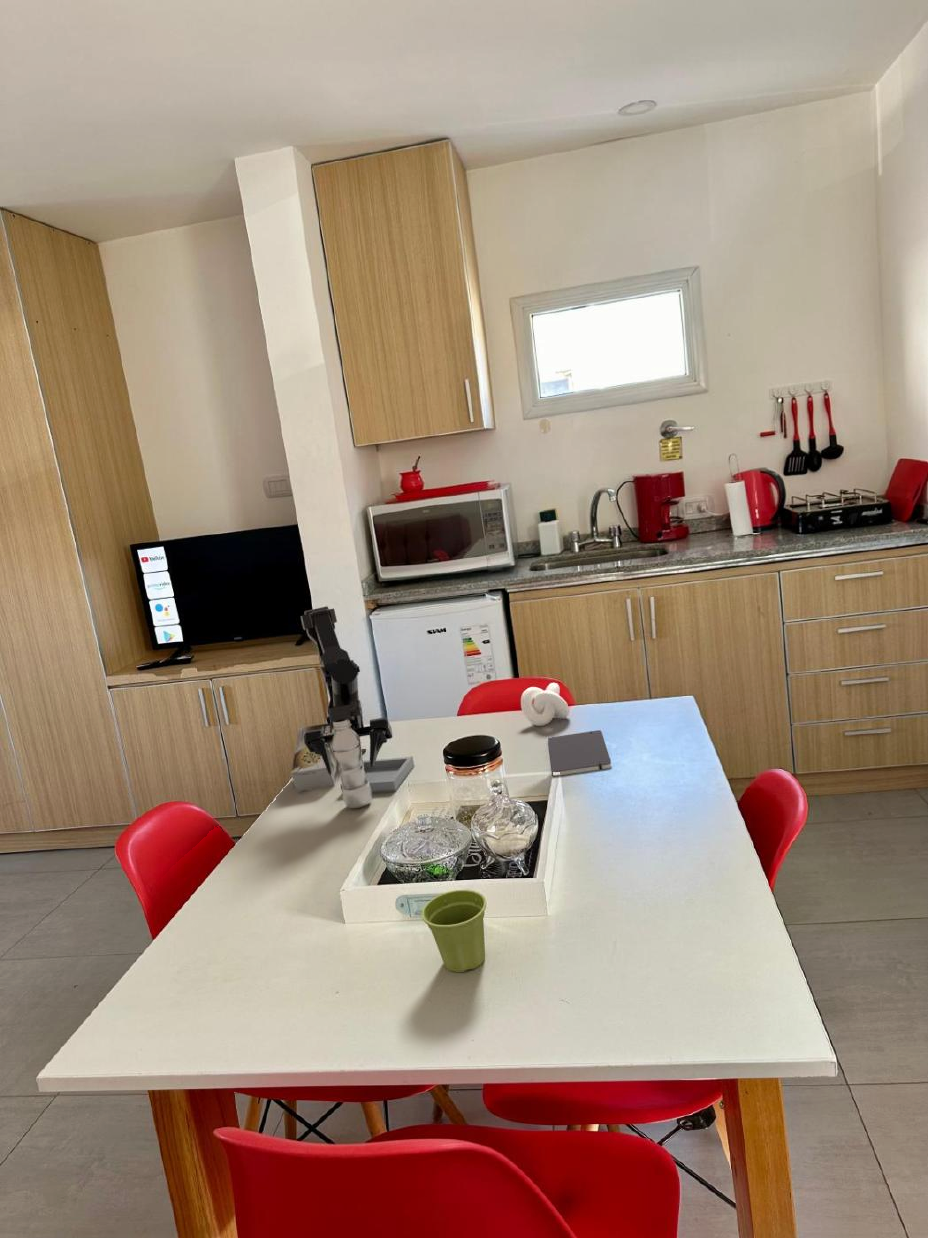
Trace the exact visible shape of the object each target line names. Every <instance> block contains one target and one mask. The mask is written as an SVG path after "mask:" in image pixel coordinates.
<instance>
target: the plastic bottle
mask: <svg viewBox="0 0 928 1238" xmlns="http://www.w3.org/2000/svg"><path fill="white" fill-rule="evenodd" d="M333 726H334V727H333V728H334V730H335V734H334V736H333V739H332V741H331V747H332V750H333V753H334V756H335V758H336V761H337V768H338V769H339V773H340V781H341V784H342V790H341V793H342V800H343V802H344V805H345V806H346V807H348V808H349V809H359V808H363V807H365V806H367V805H368V804H370V803H371V802H372V799H373V793H372V789H371V786H370V784H369V782H368V780H367V776H366V773H365V770H364V766H363V761H364V760H363V755H362V752H361V749H362V741H361V737H359V736H358V734H357V733H356V732H355V731H354V730H352V729H351V728H350V727H351V723H350V720H348V719H347V720H344V721H337V722H333Z"/></svg>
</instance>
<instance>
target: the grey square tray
mask: <svg viewBox="0 0 928 1238" xmlns="http://www.w3.org/2000/svg"><path fill="white" fill-rule="evenodd" d="M363 766H364V770H365V773H366V776H367V780H368V782H369V784H370V786H371V789H372V794H380V793H381V794H383V793H384V794H385V793H396V792H397V791H398V790H399V788H400V787H401V785H402V784H403V783H404V782H405V780H406V779H407V778H408V776H409V775H410V773H411V772H412V771H413V769H414V768H415V763H414V758H413V756H407V757H394V758H382V759H376V761H375V764H374V767H371V765H370V759H369V760H363ZM413 767H414V768H413ZM411 770H412V771H411ZM409 772H410V773H409ZM408 774H409V775H408ZM407 775H408V776H407ZM403 781H404V782H403ZM397 789H398V790H397ZM340 791H342V783H341V784H340Z"/></svg>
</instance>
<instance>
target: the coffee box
mask: <svg viewBox="0 0 928 1238" xmlns="http://www.w3.org/2000/svg"><path fill="white" fill-rule="evenodd" d="M317 729H322V730H323V732H324V734H328V733H333V732H335V730H334V729H333V728H332V723H328V724H326V723H324V724H317V725H310V726H303V727H299V728H298V732H297V738H296V743H295V744H296V745H295V750H294V756H293V761H292V765H291V766H292V767H291V772H290V775H291V778H292V780H293V782H294V783H293V784H294V785H295V788H296V790H297V792H304V791H310V790H317V789H323V788H330V787H335V783H336V782H335V781H336V774H337V767H338V764H337V761H336V758H335V756H334V753H333V750H332V747H331V742H328V747H327V748H328V750H329V752H330V760H331V768H332V774H331V775H329V773H328V770H327V768H326V766H325V763H324V761H323V758H322V756H321V754H320V755H317V754H316V753H315V752H310V751H309V749H308V747H307V746H306V744H305V743H304V735H305V733H306V732H307V731H311V730H317Z"/></svg>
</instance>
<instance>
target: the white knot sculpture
mask: <svg viewBox="0 0 928 1238" xmlns="http://www.w3.org/2000/svg"><path fill="white" fill-rule="evenodd" d="M560 690H561V689H560V686H559V684H558V683H557V682H556V683H555V682H550V683H549V684H548V685H547V687H546V689H545V690H543V689H542V688H539V687H536V686H531V687H528V688H526V689H525V690H524V691H523V692H522V694H521V697H520V708H521V710H522V713H523V715H524V717H525V718H526V720H527V721H529V723H531V724H533V725H534V726H537V727H538V726H539V727H542V726H546V725H548V724H549V723H551V721H552V720H553V719H554V717H555V718H556V719H560V720H563V719H567V717H568V716H570V708H569V705H568V703H567V701H566V700H564V698H563V697H562V696H560Z"/></svg>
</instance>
